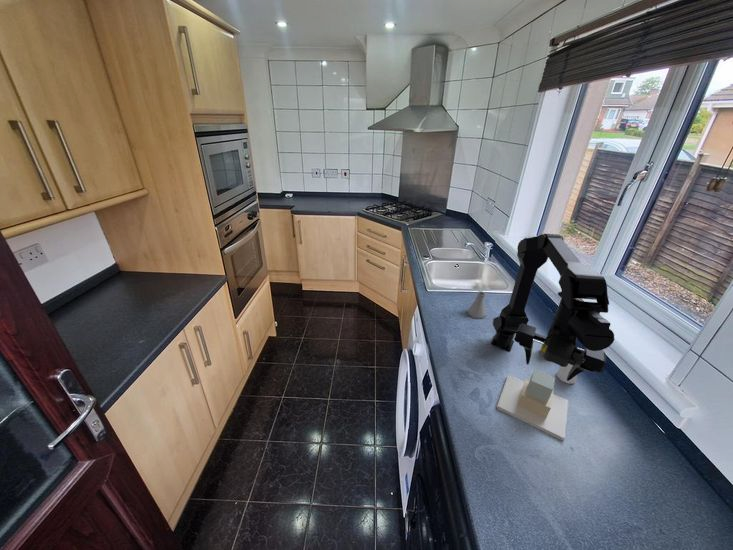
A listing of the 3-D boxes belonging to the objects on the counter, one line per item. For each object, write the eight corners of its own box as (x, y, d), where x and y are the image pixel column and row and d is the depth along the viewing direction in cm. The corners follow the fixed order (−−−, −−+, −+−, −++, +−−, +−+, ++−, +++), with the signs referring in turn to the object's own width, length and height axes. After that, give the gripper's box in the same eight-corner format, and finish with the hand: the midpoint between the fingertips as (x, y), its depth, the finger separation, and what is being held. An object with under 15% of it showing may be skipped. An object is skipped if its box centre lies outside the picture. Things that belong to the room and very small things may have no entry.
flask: (489, 317, 121) (495, 296, 116) (474, 320, 118) (480, 299, 114) (477, 308, 127) (482, 287, 122) (463, 310, 124) (468, 290, 120)
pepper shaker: (573, 373, 94) (586, 346, 89) (578, 386, 90) (592, 358, 85) (554, 369, 96) (566, 342, 91) (557, 381, 91) (570, 353, 86)
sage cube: (528, 382, 84) (534, 369, 81) (549, 391, 81) (555, 377, 79) (525, 394, 80) (531, 380, 78) (546, 403, 77) (553, 389, 75)
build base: (507, 377, 92) (511, 364, 90) (567, 402, 84) (573, 390, 82) (496, 408, 82) (500, 395, 79) (563, 441, 74) (570, 427, 71)
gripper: (518, 323, 68) (502, 374, 76) (619, 357, 59) (589, 411, 66) (526, 303, 77) (511, 350, 84) (616, 330, 68) (590, 380, 75)
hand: (546, 371), depth 77 cm, fingers open, 9 cm apart
